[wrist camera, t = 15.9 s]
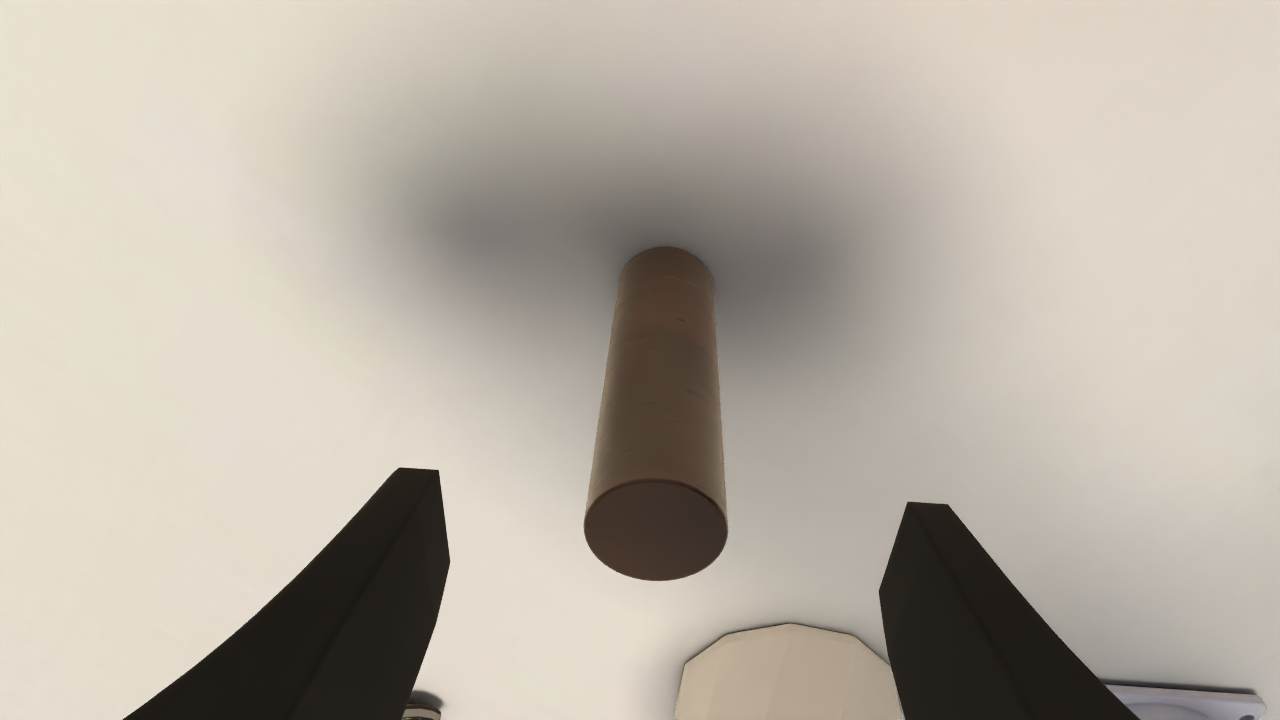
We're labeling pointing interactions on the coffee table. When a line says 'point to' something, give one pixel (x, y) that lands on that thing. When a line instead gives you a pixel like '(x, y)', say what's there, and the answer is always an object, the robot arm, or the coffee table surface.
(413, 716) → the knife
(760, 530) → the coffee table surface
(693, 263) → the brown cylinder
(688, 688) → the vase
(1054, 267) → the coffee table surface
